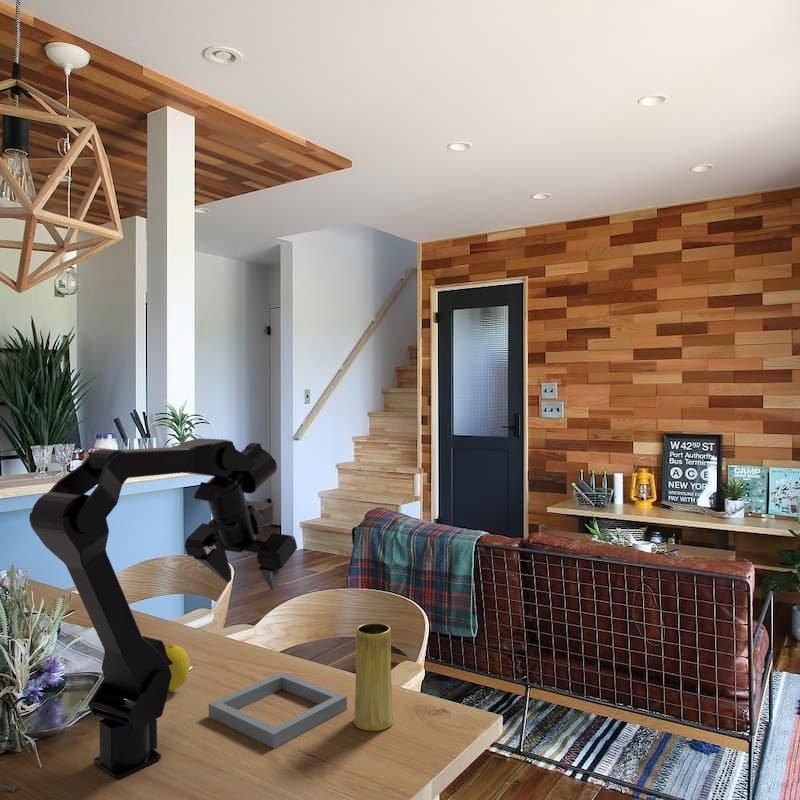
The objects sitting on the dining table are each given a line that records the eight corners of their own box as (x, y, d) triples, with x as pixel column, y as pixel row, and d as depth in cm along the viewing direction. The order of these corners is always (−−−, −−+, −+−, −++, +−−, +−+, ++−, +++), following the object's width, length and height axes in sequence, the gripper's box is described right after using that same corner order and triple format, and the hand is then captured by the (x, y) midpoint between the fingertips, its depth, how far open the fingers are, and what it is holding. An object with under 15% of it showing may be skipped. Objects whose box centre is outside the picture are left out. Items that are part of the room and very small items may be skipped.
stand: (273, 748, 96) (273, 734, 96) (208, 716, 105) (208, 703, 105) (346, 709, 107) (346, 696, 107) (282, 683, 117) (282, 671, 117)
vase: (395, 713, 106) (395, 621, 106) (391, 733, 100) (391, 636, 100) (357, 711, 107) (356, 620, 106) (350, 731, 101) (349, 634, 100)
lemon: (179, 700, 110) (178, 651, 110) (148, 697, 112) (147, 649, 111) (195, 686, 116) (195, 639, 116) (166, 683, 117) (165, 637, 117)
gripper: (303, 487, 113) (321, 562, 119) (211, 477, 120) (232, 548, 127) (268, 527, 104) (289, 606, 110) (171, 514, 111) (196, 589, 117)
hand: (251, 585), depth 116 cm, fingers open, 9 cm apart
